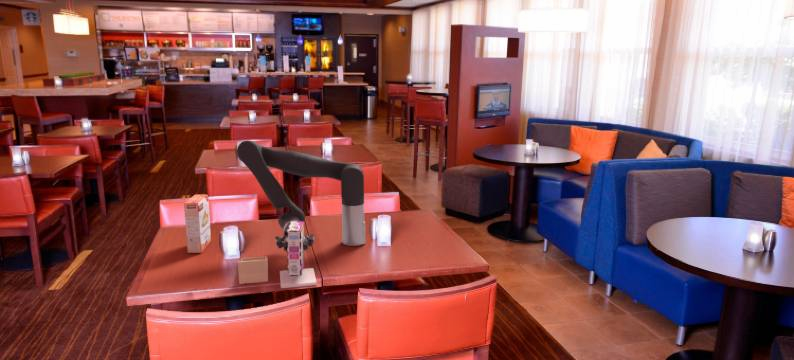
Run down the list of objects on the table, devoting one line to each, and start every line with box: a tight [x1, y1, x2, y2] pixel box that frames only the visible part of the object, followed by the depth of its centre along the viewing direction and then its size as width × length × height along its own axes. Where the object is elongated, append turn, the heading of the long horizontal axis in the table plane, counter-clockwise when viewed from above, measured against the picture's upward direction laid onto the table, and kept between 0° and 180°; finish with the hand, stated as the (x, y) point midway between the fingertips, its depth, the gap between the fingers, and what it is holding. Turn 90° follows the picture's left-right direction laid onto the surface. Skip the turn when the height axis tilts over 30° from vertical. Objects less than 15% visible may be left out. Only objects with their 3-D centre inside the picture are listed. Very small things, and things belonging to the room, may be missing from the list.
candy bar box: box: [286, 221, 305, 276], centre depth 185 cm, size 11×5×16 cm, turn 5°
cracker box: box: [183, 194, 212, 254], centre depth 216 cm, size 14×6×21 cm, turn 3°
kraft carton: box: [237, 255, 269, 285], centre depth 193 cm, size 10×19×8 cm, turn 14°
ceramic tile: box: [279, 267, 318, 289], centre depth 188 cm, size 12×13×1 cm
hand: (296, 248), depth 183 cm, fingers closed on candy bar box, 5 cm apart
